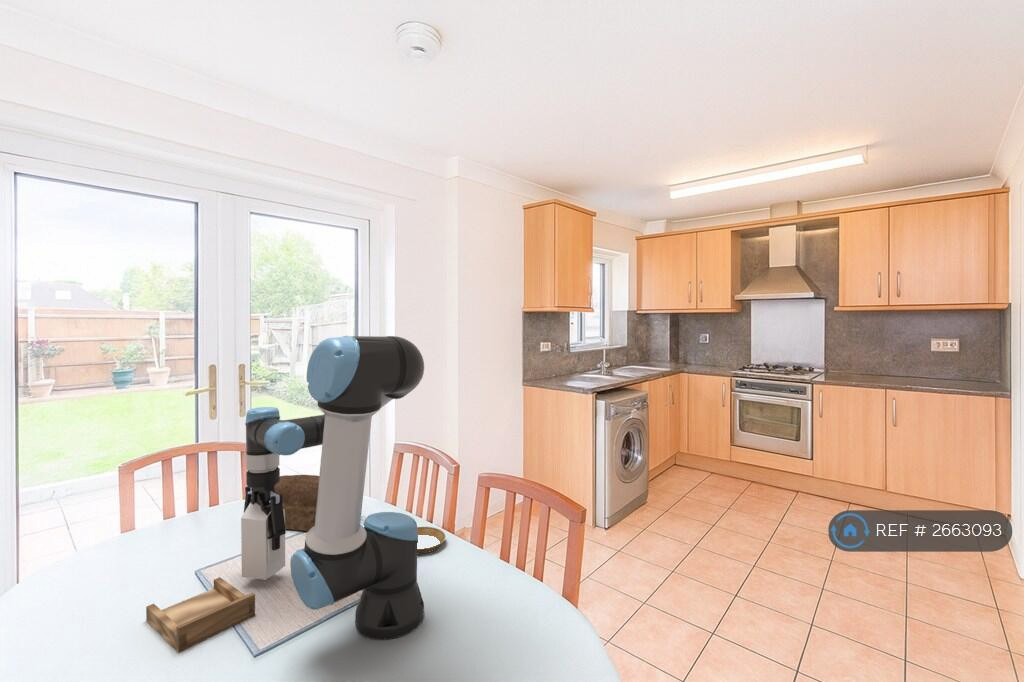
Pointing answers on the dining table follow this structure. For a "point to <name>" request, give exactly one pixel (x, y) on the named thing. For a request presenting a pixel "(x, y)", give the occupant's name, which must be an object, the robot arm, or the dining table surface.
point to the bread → (299, 500)
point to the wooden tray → (201, 615)
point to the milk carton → (258, 544)
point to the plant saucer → (430, 532)
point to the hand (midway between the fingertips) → (263, 556)
